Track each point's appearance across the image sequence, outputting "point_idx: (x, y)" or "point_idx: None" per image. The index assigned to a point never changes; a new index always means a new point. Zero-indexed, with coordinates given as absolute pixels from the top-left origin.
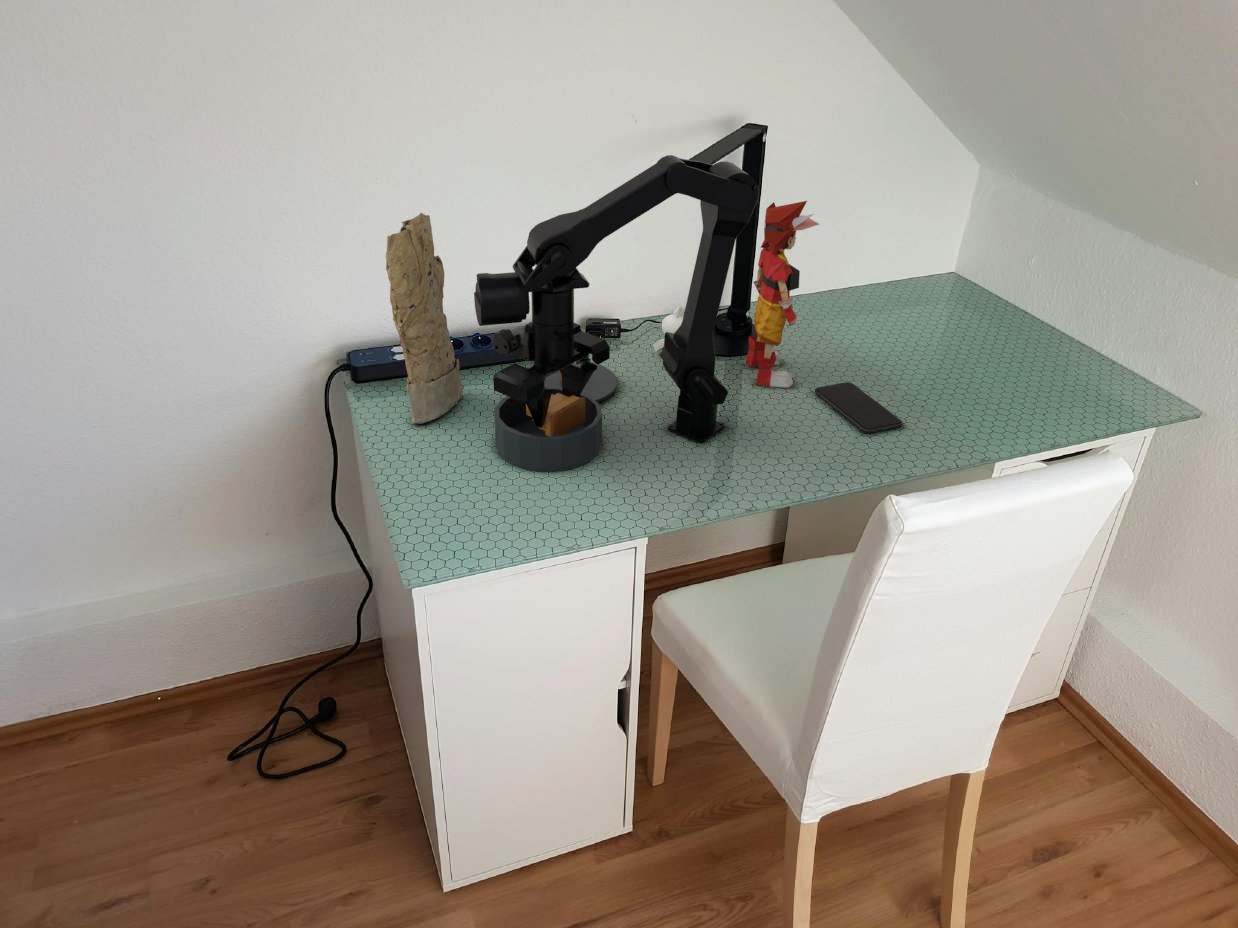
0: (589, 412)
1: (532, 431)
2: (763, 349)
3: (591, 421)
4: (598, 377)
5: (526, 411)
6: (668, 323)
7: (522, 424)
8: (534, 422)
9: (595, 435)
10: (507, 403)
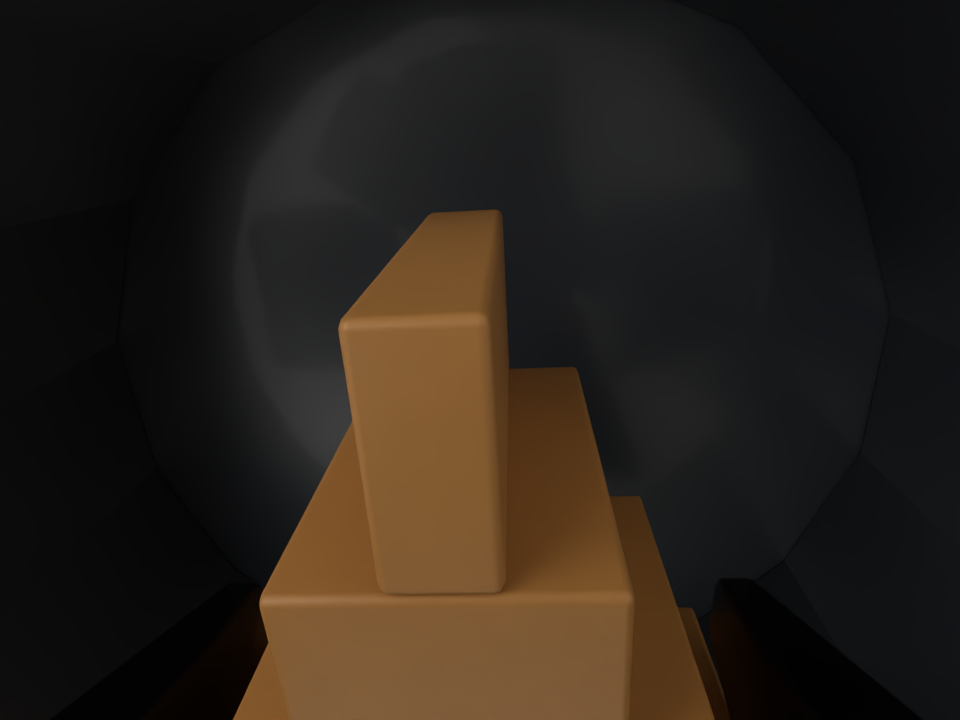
0: (926, 599)
1: (517, 191)
2: None
3: (858, 577)
4: None
5: (423, 223)
6: None
7: (550, 12)
8: (196, 611)
9: None
10: None
